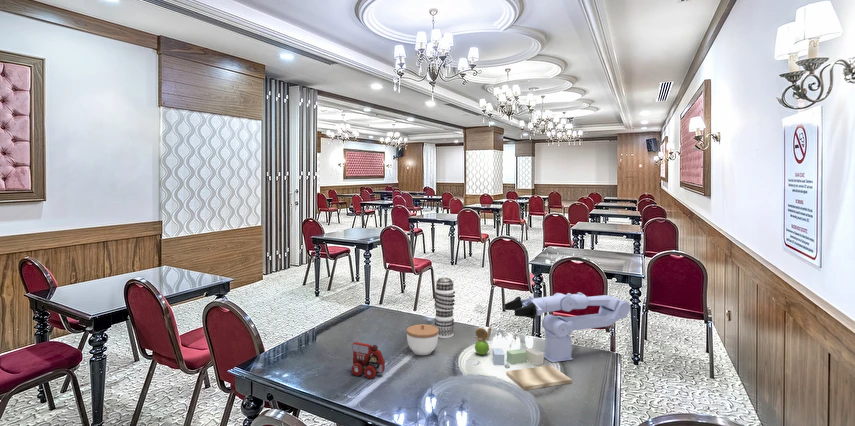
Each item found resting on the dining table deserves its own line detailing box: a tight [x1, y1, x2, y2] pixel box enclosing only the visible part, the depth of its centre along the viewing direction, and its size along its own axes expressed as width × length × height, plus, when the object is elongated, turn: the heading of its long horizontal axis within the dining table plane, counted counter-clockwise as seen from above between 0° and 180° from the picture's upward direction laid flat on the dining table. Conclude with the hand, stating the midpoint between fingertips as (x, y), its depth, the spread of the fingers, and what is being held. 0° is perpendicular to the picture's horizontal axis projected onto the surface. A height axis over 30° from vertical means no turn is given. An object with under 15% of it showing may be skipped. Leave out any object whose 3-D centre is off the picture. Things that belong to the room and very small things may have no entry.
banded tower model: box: [433, 277, 456, 339], centre depth 188 cm, size 9×9×25 cm
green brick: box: [506, 348, 527, 365], centre depth 161 cm, size 6×4×4 cm, turn 108°
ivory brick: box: [525, 347, 545, 367], centre depth 161 cm, size 6×4×4 cm, turn 28°
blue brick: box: [492, 348, 505, 366], centre depth 161 cm, size 6×4×4 cm, turn 178°
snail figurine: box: [474, 324, 493, 356], centre depth 167 cm, size 5×6×12 cm
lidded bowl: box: [406, 323, 439, 356], centre depth 169 cm, size 13×13×11 cm
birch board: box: [505, 364, 573, 391], centre depth 146 cm, size 18×12×1 cm, turn 108°
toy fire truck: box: [350, 341, 386, 380], centre depth 149 cm, size 7×12×10 cm, turn 68°
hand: (509, 309), depth 157 cm, fingers open, 7 cm apart
